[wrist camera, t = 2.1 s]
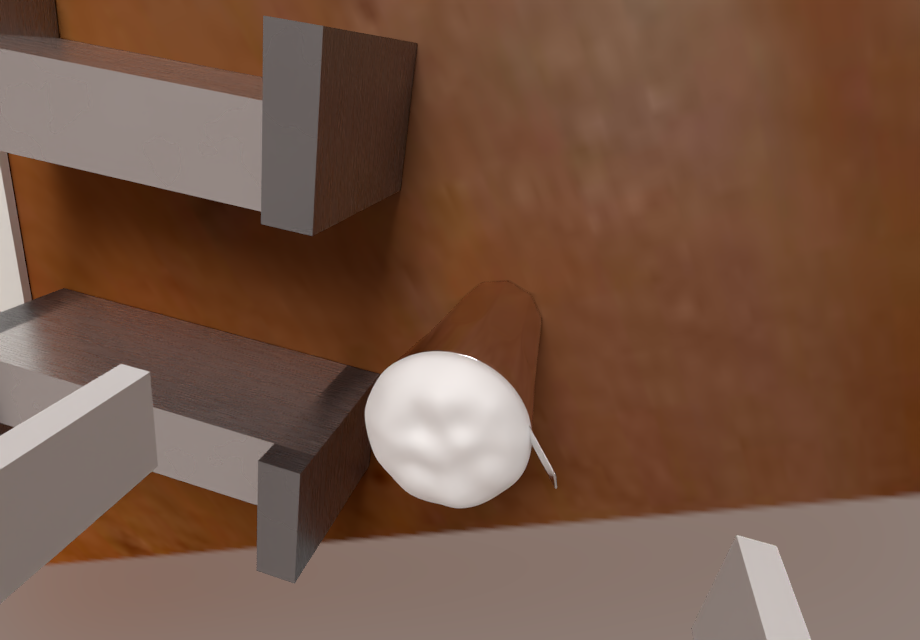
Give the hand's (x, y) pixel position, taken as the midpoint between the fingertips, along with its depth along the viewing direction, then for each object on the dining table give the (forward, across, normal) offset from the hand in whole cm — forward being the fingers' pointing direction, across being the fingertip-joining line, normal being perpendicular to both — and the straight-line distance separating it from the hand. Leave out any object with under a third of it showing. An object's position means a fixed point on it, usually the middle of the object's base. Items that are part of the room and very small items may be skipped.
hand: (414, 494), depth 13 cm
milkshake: (+11, -1, 0) cm, 11 cm away
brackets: (+11, +12, 0) cm, 17 cm away
